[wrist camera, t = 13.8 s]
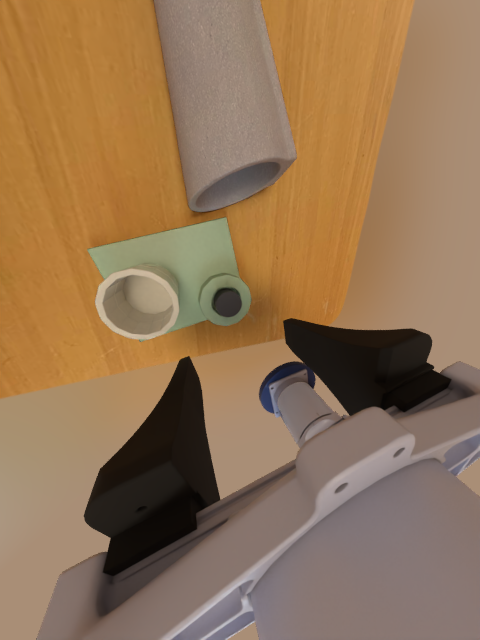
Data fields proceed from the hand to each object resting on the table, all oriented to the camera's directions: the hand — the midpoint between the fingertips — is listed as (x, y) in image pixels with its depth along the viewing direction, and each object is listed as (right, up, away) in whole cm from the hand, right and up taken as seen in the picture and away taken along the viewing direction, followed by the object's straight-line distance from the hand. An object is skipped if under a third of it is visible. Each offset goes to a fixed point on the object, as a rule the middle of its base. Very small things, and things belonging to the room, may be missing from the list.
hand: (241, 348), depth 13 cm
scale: (-7, +6, +7) cm, 11 cm away
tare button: (-2, +4, +7) cm, 8 cm away
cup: (-9, +5, +6) cm, 12 cm away
